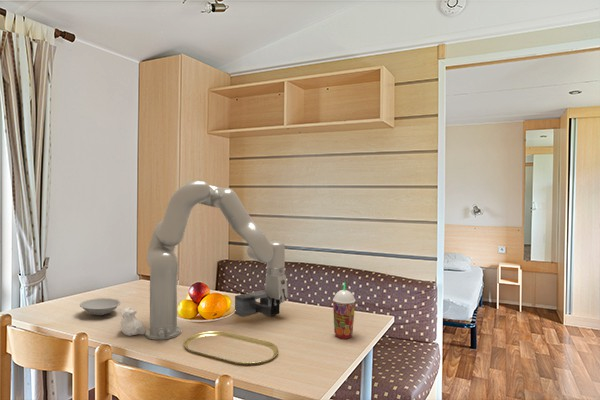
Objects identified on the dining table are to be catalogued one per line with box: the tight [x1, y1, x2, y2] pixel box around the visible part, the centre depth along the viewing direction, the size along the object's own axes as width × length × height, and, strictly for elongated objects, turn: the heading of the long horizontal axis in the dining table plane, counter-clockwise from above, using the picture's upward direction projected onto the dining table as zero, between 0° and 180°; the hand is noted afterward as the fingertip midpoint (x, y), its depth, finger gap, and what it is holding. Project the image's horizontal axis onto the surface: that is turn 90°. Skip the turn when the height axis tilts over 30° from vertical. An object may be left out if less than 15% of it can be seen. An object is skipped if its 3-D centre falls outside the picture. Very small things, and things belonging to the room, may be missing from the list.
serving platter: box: [183, 330, 279, 366], centre depth 139 cm, size 19×35×2 cm, turn 62°
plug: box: [255, 299, 275, 317], centre depth 182 cm, size 20×4×5 cm, turn 42°
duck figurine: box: [119, 306, 146, 337], centre depth 151 cm, size 12×8×11 cm
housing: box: [234, 289, 271, 317], centre depth 182 cm, size 6×20×8 cm, turn 133°
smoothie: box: [332, 282, 356, 340], centre depth 152 cm, size 8×8×20 cm
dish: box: [79, 297, 122, 316], centre depth 172 cm, size 18×14×5 cm
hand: (275, 313), depth 173 cm, fingers closed
